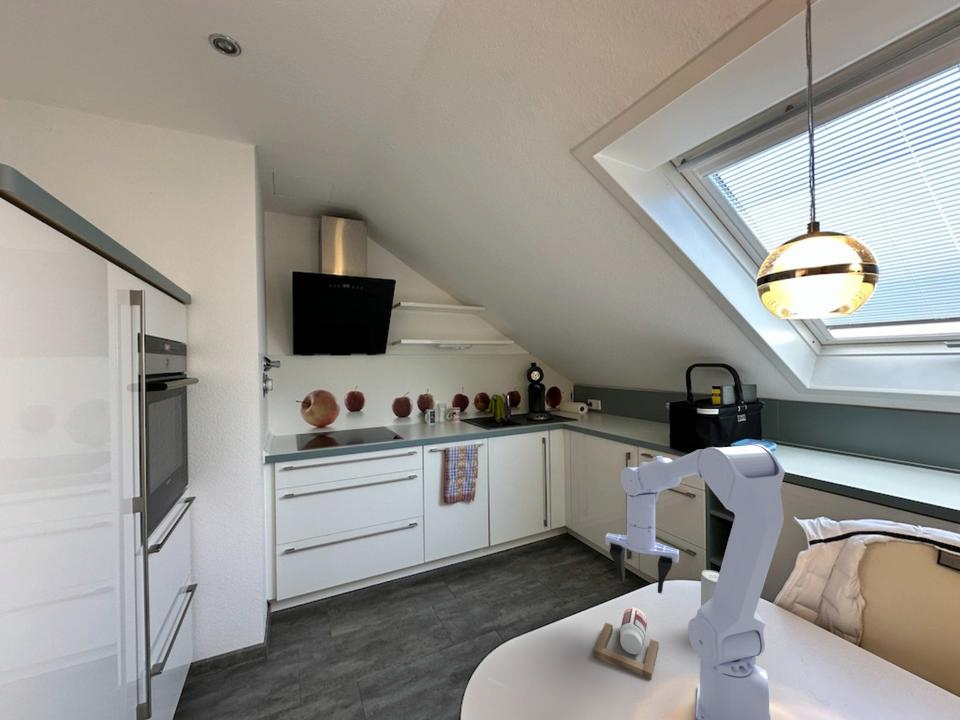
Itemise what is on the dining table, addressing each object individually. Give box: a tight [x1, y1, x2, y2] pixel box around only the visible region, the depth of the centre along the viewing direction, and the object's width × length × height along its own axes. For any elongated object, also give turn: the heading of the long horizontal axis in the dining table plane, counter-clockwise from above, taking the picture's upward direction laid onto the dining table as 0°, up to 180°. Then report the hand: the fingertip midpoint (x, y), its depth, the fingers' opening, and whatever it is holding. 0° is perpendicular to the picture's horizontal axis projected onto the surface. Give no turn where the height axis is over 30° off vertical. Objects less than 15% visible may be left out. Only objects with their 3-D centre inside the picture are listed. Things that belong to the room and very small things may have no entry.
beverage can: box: [700, 569, 720, 607], centre depth 82 cm, size 5×5×12 cm
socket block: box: [592, 622, 660, 680], centre depth 76 cm, size 10×9×2 cm
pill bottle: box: [619, 607, 648, 655], centre depth 79 cm, size 5×5×8 cm
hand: (640, 585), depth 83 cm, fingers open, 7 cm apart
